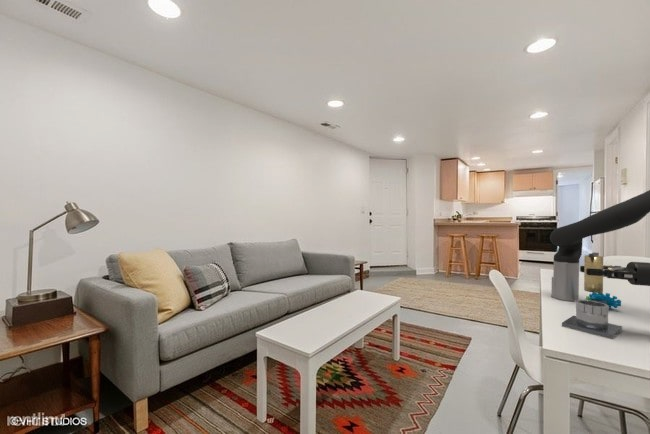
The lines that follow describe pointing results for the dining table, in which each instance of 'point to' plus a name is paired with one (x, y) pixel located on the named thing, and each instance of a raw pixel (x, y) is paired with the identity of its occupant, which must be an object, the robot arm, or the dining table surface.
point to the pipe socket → (592, 319)
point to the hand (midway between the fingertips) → (583, 270)
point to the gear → (604, 299)
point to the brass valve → (592, 281)
